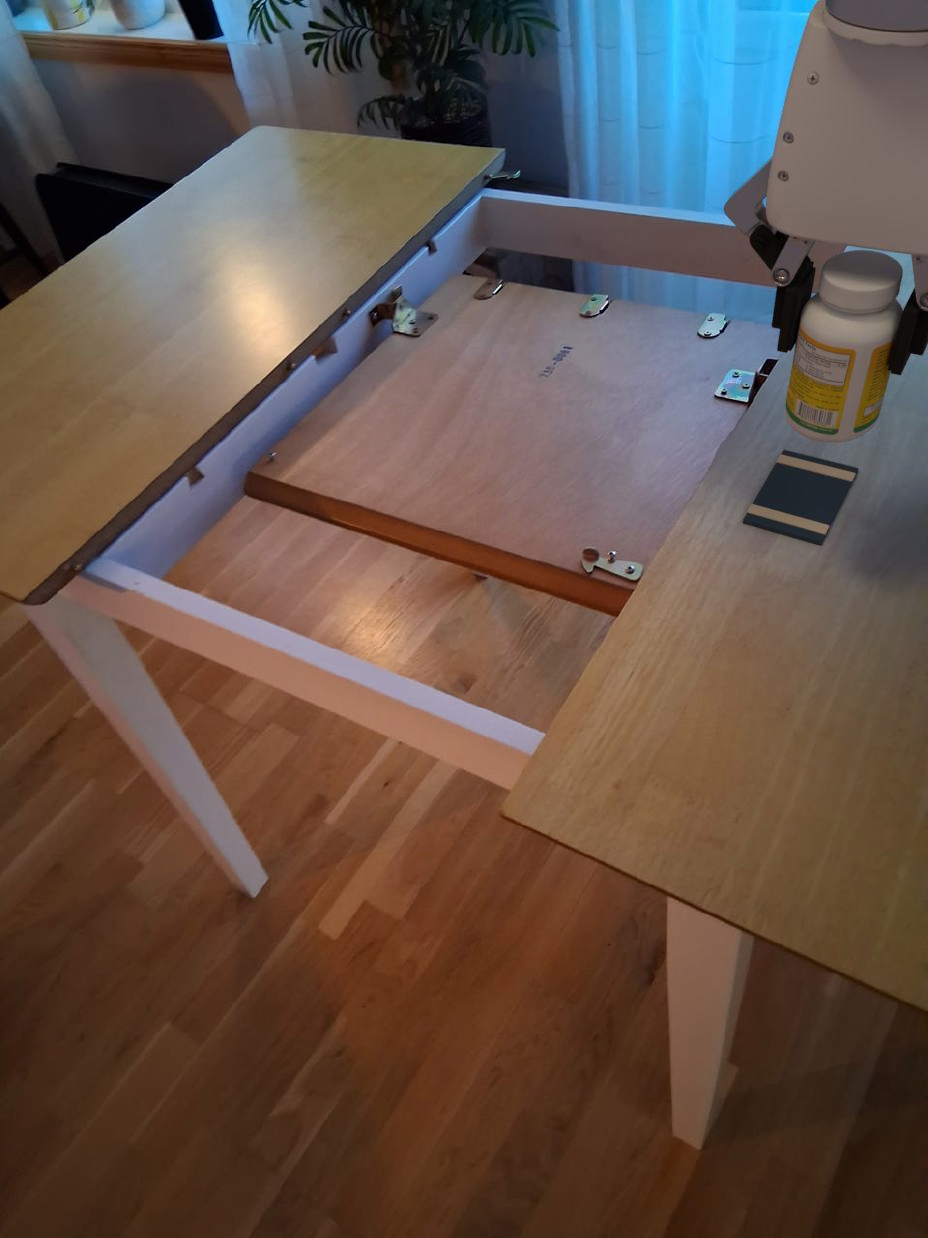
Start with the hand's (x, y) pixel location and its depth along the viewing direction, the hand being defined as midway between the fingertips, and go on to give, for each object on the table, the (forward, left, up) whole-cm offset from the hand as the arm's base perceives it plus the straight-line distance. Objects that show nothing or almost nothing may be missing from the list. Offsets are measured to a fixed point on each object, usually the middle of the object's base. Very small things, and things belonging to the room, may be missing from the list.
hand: (845, 346), depth 52 cm
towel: (+3, -9, -20) cm, 22 cm away
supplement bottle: (0, 0, -5) cm, 5 cm away
